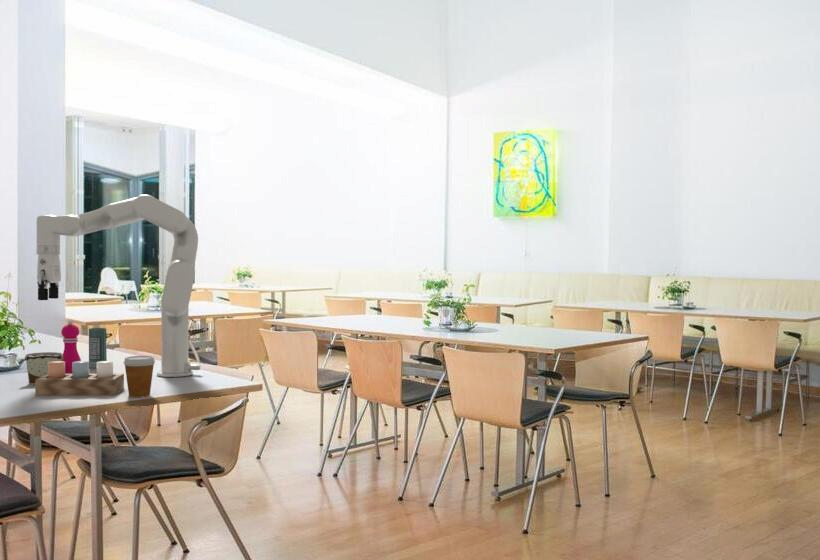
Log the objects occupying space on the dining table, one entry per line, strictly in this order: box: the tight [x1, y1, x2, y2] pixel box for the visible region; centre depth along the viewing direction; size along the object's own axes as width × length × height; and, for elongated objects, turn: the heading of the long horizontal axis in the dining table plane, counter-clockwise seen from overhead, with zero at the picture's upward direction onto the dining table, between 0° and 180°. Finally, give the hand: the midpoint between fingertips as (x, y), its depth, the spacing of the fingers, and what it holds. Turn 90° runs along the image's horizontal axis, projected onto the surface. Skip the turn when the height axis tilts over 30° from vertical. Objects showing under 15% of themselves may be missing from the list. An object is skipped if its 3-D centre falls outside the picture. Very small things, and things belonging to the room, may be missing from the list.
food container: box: [23, 351, 64, 385], centre depth 283 cm, size 12×6×10 cm, turn 111°
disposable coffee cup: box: [122, 355, 156, 398], centre depth 260 cm, size 10×10×12 cm
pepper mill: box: [60, 319, 82, 374], centre depth 298 cm, size 7×7×20 cm
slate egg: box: [72, 360, 90, 378], centre depth 265 cm, size 5×5×6 cm
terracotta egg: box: [48, 361, 65, 378], centre depth 264 cm, size 5×5×6 cm
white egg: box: [95, 360, 114, 378], centre depth 266 cm, size 5×5×6 cm
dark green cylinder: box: [88, 327, 108, 369], centre depth 319 cm, size 6×6×15 cm
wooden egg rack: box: [34, 373, 125, 396], centre depth 265 cm, size 24×12×5 cm, turn 95°
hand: (48, 299), depth 289 cm, fingers open, 9 cm apart
